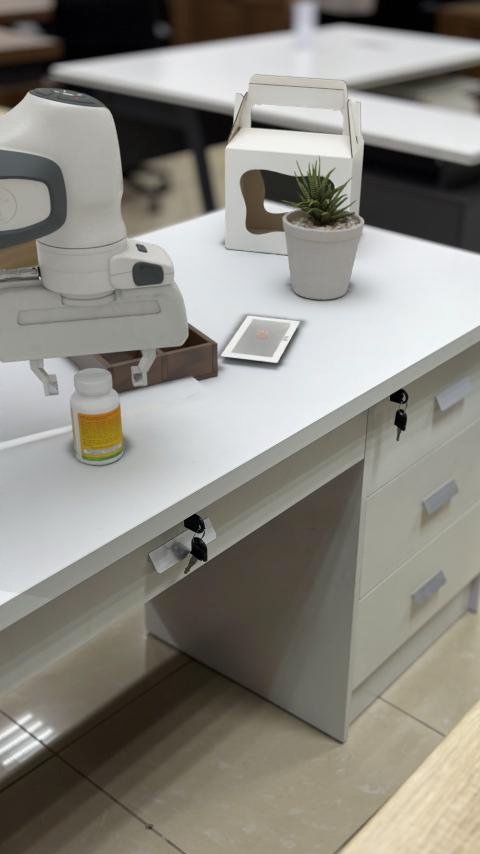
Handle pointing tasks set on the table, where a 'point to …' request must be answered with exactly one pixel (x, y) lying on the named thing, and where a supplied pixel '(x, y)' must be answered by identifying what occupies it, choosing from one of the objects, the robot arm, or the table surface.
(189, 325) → the grid
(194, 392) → the table surface
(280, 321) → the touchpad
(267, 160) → the gable box
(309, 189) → the potted plant
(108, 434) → the supplement bottle
